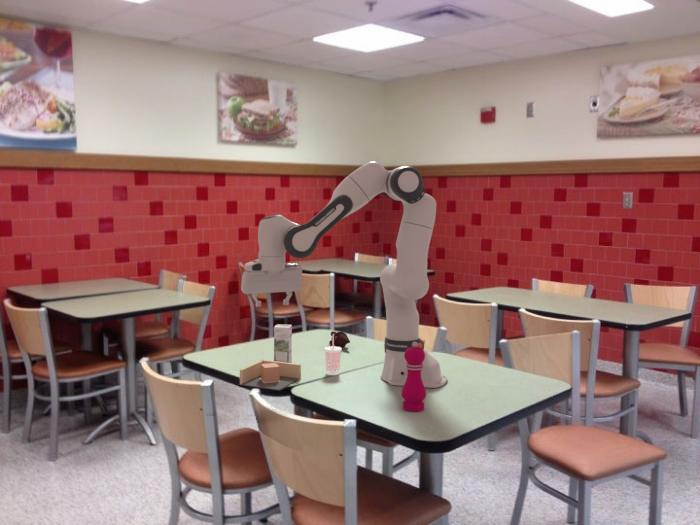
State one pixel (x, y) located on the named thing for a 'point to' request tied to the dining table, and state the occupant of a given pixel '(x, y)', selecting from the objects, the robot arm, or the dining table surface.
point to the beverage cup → (332, 359)
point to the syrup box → (283, 343)
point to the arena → (286, 377)
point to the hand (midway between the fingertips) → (272, 305)
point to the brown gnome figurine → (339, 339)
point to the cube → (270, 372)
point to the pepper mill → (414, 380)
